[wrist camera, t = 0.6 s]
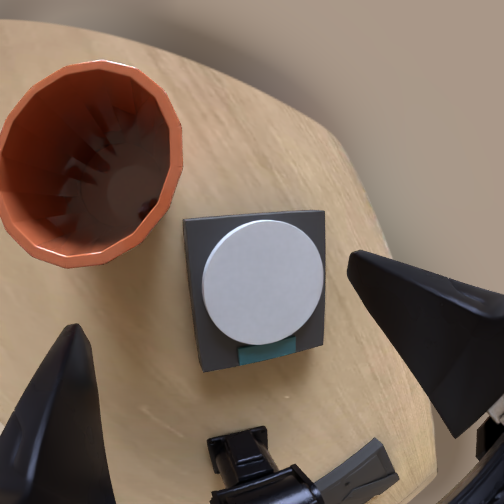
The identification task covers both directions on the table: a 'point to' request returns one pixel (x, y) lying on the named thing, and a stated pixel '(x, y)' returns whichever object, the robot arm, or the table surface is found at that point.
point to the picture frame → (359, 477)
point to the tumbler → (88, 163)
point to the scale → (256, 285)
